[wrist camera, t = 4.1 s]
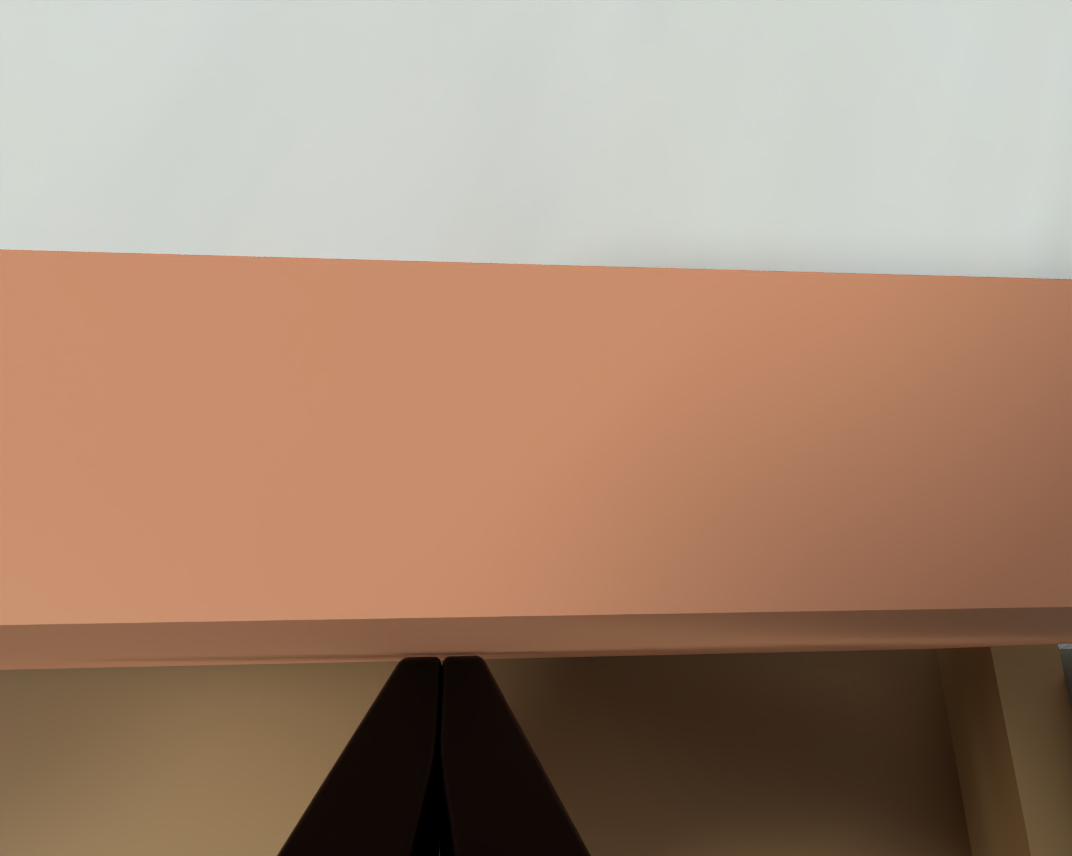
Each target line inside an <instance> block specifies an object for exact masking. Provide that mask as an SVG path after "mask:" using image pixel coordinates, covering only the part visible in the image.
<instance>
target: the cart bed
mask: <svg viewBox="0 0 1072 856" xmlns="http://www.w3.org/2000/svg"><path fill="white" fill-rule="evenodd" d="M484 661H485V662H486V664H487V665H488V667H489V669H490V671H491V673H492V675H493V676H494V678H495V680H496V682H497V684H498V686H499V688H500V689H501V691H502V693H503V695H504V697H505V699H506V700H507V702H508V704H509V706H510V708H511V710H512V711H513V713H514V715H515V717H516V719H517V721H518V722H519V724H520V726H521V728H522V730H523V732H524V734H525V735H526V737H527V739H528V741H529V743H530V745H531V746H532V748H533V750H534V752H535V754H536V756H537V757H538V759H539V761H540V763H541V765H542V767H543V768H544V770H545V772H546V774H547V776H548V778H549V780H550V781H551V783H552V785H553V787H554V789H555V791H556V792H557V794H558V796H559V798H560V800H561V802H562V803H563V805H564V807H565V809H566V811H567V813H568V814H569V816H570V818H571V820H572V822H573V824H574V826H575V827H576V829H577V831H578V833H579V835H580V837H581V838H582V840H583V842H584V844H585V846H586V848H587V849H588V851H589V853H590V855H591V856H1072V649H1058V644H1039V645H1015V646H991V647H968V648H944V649H910V650H865V651H821V652H776V653H732V654H687V655H643V656H598V657H554V658H509V659H484ZM398 663H399V661H376V662H331V663H287V664H242V665H198V666H153V667H109V668H64V669H20V670H0V856H277V855H278V853H279V851H280V850H281V848H282V847H283V845H284V843H285V842H286V840H287V839H288V837H289V835H290V834H291V832H292V831H293V829H294V828H295V826H296V824H297V823H298V821H299V820H300V818H301V816H302V815H303V813H304V812H305V810H306V808H307V807H308V805H309V804H310V802H311V801H312V799H313V797H314V796H315V794H316V793H317V791H318V789H319V788H320V786H321V785H322V783H323V781H324V780H325V778H326V777H327V775H328V773H329V772H330V770H331V769H332V767H333V766H334V764H335V762H336V761H337V759H338V758H339V756H340V754H341V753H342V751H343V750H344V748H345V746H346V745H347V743H348V742H349V740H350V739H351V737H352V735H353V734H354V732H355V731H356V729H357V727H358V726H359V724H360V723H361V721H362V719H363V718H364V716H365V715H366V713H367V712H368V710H369V708H370V707H371V705H372V704H373V702H374V700H375V699H376V697H377V696H378V694H379V692H380V691H381V689H382V688H383V686H384V684H385V683H386V681H387V680H388V678H389V677H390V675H391V673H392V672H393V670H394V669H395V667H396V665H397V664H398ZM441 663H443V660H441ZM439 856H440V853H439Z"/></svg>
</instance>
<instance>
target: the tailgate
mask: <svg viewBox="0 0 1072 856" xmlns="http://www.w3.org/2000/svg"><path fill="white" fill-rule="evenodd" d="M1063 643H1072V280H1071V279H1035V278H999V277H964V276H928V275H892V274H856V273H821V272H785V271H749V270H713V269H677V268H641V267H606V266H570V265H534V264H498V263H463V262H427V261H391V260H355V259H319V258H284V257H248V256H212V255H176V254H140V253H105V252H69V251H33V250H0V670H20V669H64V668H109V667H153V666H198V665H242V664H287V663H331V662H376V661H400V660H402V659H403V658H406V657H438V658H439V659H440V660H444V659H445V658H446V657H448V656H480V657H482V658H483V659H509V658H554V657H598V656H643V655H687V654H732V653H776V652H821V651H865V650H910V649H944V648H968V647H991V646H1015V645H1039V644H1063Z"/></svg>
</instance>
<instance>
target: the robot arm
mask: <svg viewBox="0 0 1072 856" xmlns="http://www.w3.org/2000/svg"><path fill="white" fill-rule="evenodd" d="M439 853H440V856H591V855H590V853H589V851H588V849H587V848H586V846H585V844H584V842H583V840H582V838H581V837H580V835H579V833H578V831H577V829H576V827H575V826H574V824H573V822H572V820H571V818H570V816H569V814H568V813H567V811H566V809H565V807H564V805H563V803H562V802H561V800H560V798H559V796H558V794H557V792H556V791H555V789H554V787H553V785H552V783H551V781H550V780H549V778H548V776H547V774H546V772H545V770H544V768H543V767H542V765H541V763H540V761H539V759H538V757H537V756H536V754H535V752H534V750H533V748H532V746H531V745H530V743H529V741H528V739H527V737H526V735H525V734H524V732H523V730H522V728H521V726H520V724H519V722H518V721H517V719H516V717H515V715H514V713H513V711H512V710H511V708H510V706H509V704H508V702H507V700H506V699H505V697H504V695H503V693H502V691H501V689H500V688H499V686H498V684H497V682H496V680H495V678H494V676H493V675H492V673H491V671H490V669H489V667H488V665H487V664H486V662H485V661H484V659H483V658H482V657H480V656H448V657H446V658H445V659H444V660H443V663H441V660H440V659H439V658H438V657H406V658H403V659H402V660H400V661H399V663H398V664H397V665H396V667H395V669H394V670H393V672H392V673H391V675H390V677H389V678H388V680H387V681H386V683H385V684H384V686H383V688H382V689H381V691H380V692H379V694H378V696H377V697H376V699H375V700H374V702H373V704H372V705H371V707H370V708H369V710H368V712H367V713H366V715H365V716H364V718H363V719H362V721H361V723H360V724H359V726H358V727H357V729H356V731H355V732H354V734H353V735H352V737H351V739H350V740H349V742H348V743H347V745H346V746H345V748H344V750H343V751H342V753H341V754H340V756H339V758H338V759H337V761H336V762H335V764H334V766H333V767H332V769H331V770H330V772H329V773H328V775H327V777H326V778H325V780H324V781H323V783H322V785H321V786H320V788H319V789H318V791H317V793H316V794H315V796H314V797H313V799H312V801H311V802H310V804H309V805H308V807H307V808H306V810H305V812H304V813H303V815H302V816H301V818H300V820H299V821H298V823H297V824H296V826H295V828H294V829H293V831H292V832H291V834H290V835H289V837H288V839H287V840H286V842H285V843H284V845H283V847H282V848H281V850H280V851H279V853H278V855H277V856H439Z"/></svg>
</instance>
